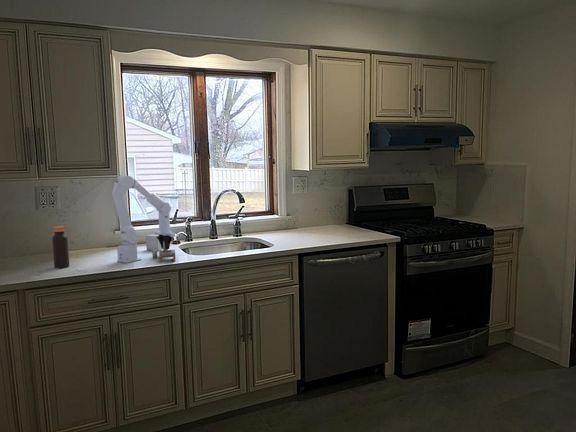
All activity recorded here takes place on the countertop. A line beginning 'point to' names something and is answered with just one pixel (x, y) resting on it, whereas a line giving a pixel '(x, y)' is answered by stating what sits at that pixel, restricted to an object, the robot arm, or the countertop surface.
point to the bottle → (60, 248)
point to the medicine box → (153, 242)
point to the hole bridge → (166, 254)
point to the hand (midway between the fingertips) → (165, 248)
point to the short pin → (154, 254)
